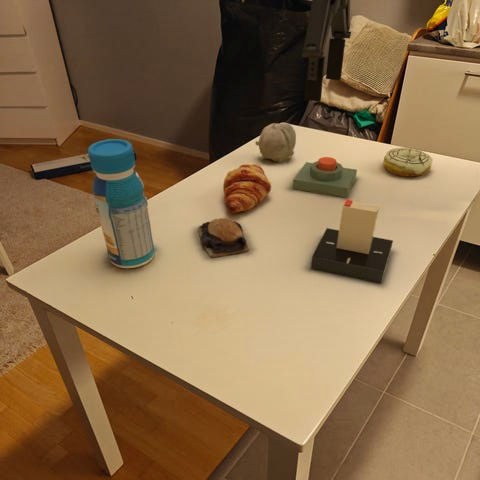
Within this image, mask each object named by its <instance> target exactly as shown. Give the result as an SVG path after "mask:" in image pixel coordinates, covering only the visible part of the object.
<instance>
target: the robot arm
mask: <svg viewBox="0 0 480 480" xmlns="http://www.w3.org/2000/svg"><path fill="white" fill-rule="evenodd" d="M350 25H351V0H311V6H310V10H309V16H308V23H307V28H306V33H305V38H304V44H303V49H301V57H306V65H305V66H306V67H305V82H304V93H303V94H304V95H303V96H304V97H303V100H304V101H311V102H321V101H322V93H323V81H324V71H325V62H326V56H324V54H325V49H326V46H327V45H326V44H327V41H328V52H327V62H326V71H325V72H326V73H325V79H326V80H332V81H341V80H342V73H343V72H342V71H343V65H344V64H343V63H344V57H345V47H346V39H350V38H351V37H352V31H350V30H351V29H350V28H351V26H350ZM329 32H331V38H329V40H328V37H329Z"/></svg>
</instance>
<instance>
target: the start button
mask: <svg viewBox="0 0 480 480" xmlns="http://www.w3.org/2000/svg"><path fill="white" fill-rule="evenodd" d="M317 161H318V166H317V168H318V169H319V170H323V171H333V170H335V169H336V162H337V161H338V160H337V159H336V158H335V157H330V156H322V157H320V158H318V160H317ZM337 163H338V162H337Z"/></svg>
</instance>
